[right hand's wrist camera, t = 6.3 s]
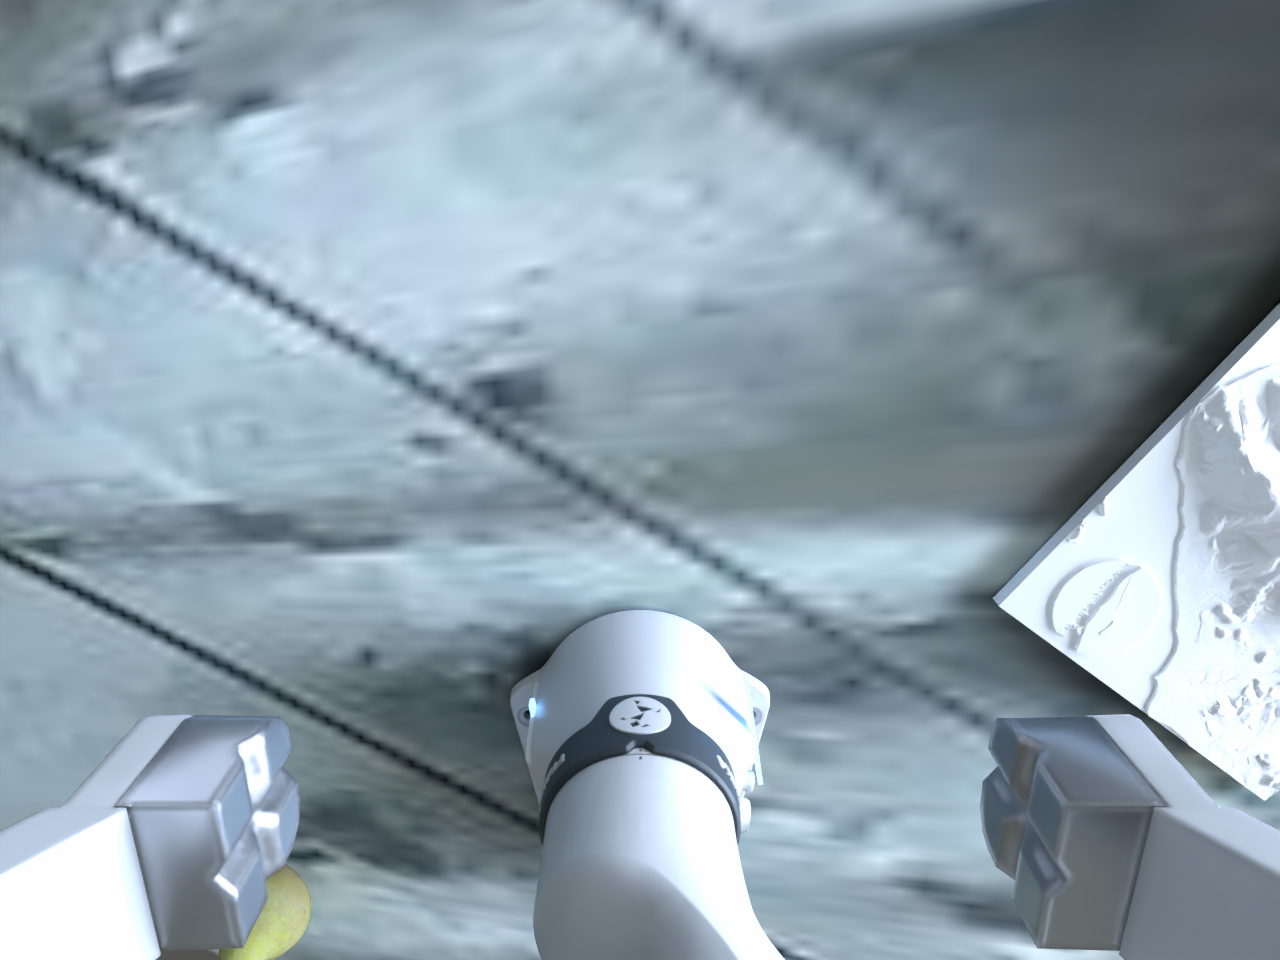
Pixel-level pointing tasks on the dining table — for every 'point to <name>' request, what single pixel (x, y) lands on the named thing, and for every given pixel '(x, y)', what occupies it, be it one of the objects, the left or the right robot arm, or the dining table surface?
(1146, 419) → the dining table surface
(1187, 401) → the relief map
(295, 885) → the fruit
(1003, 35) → the dining table surface
